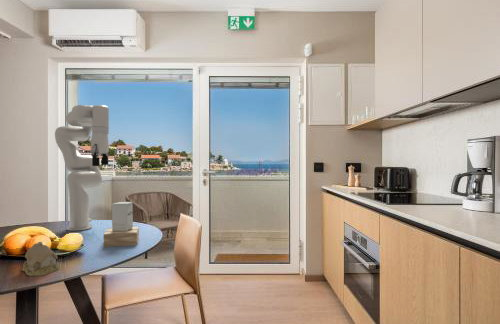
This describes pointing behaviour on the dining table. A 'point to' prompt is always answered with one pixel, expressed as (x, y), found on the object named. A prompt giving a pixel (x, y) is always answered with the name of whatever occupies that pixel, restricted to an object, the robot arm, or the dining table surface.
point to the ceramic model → (40, 260)
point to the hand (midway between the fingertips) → (100, 165)
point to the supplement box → (122, 216)
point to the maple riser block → (121, 237)
